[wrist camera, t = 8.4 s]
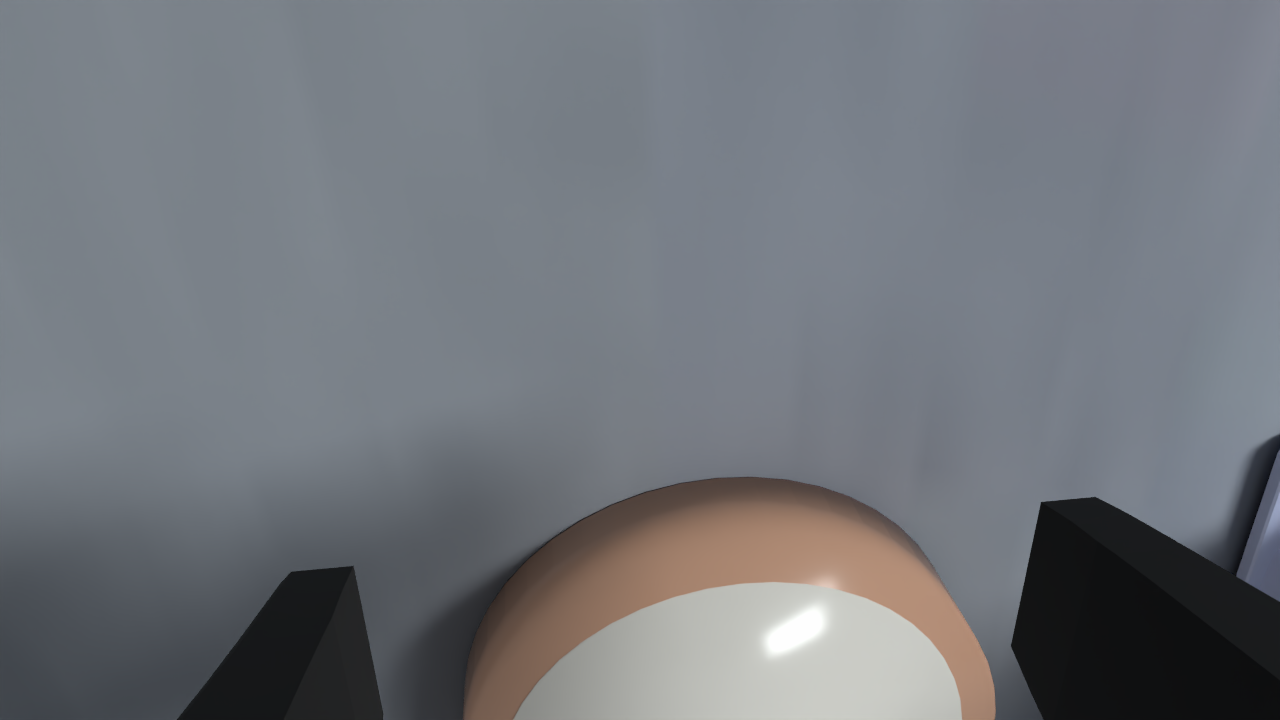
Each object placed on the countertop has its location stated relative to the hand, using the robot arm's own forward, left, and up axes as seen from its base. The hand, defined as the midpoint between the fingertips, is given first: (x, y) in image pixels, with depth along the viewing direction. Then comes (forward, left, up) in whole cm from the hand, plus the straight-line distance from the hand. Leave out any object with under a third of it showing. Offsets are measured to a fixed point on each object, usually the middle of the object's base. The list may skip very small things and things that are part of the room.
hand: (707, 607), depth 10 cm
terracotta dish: (-2, +11, -9) cm, 15 cm away
